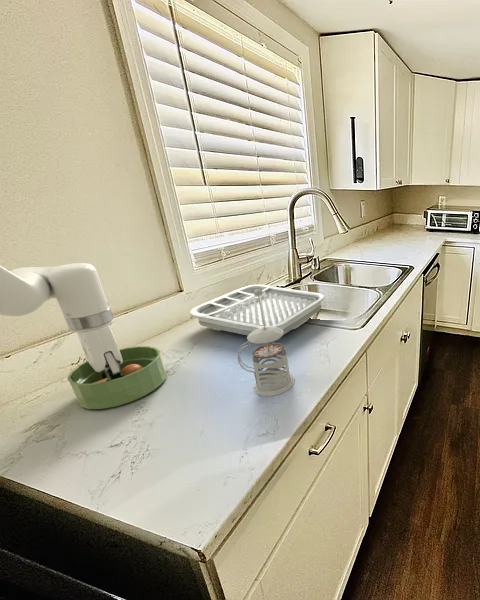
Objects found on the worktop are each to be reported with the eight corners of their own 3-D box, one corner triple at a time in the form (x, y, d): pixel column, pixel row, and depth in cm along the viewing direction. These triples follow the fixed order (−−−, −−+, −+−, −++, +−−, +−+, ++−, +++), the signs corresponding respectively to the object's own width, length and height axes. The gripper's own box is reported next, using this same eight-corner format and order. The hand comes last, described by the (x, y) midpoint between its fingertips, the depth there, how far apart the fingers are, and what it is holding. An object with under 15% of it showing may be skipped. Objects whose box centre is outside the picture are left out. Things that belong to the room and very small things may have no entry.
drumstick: (89, 405, 73) (81, 387, 72) (84, 397, 76) (76, 379, 74) (150, 380, 82) (144, 364, 80) (143, 374, 85) (138, 358, 83)
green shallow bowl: (89, 422, 69) (77, 394, 67) (71, 392, 79) (60, 367, 76) (178, 383, 82) (170, 359, 79) (153, 362, 91) (145, 340, 89)
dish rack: (276, 352, 96) (272, 328, 93) (186, 333, 108) (180, 311, 105) (332, 312, 123) (330, 292, 120) (256, 301, 135) (252, 282, 132)
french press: (296, 390, 78) (281, 293, 70) (243, 402, 75) (221, 300, 66) (293, 369, 87) (280, 280, 78) (246, 378, 83) (226, 286, 74)
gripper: (59, 316, 74) (88, 383, 81) (77, 335, 65) (108, 409, 71) (101, 305, 80) (125, 369, 86) (123, 322, 70) (148, 392, 77)
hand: (117, 387), depth 79 cm, fingers closed on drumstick, 3 cm apart
